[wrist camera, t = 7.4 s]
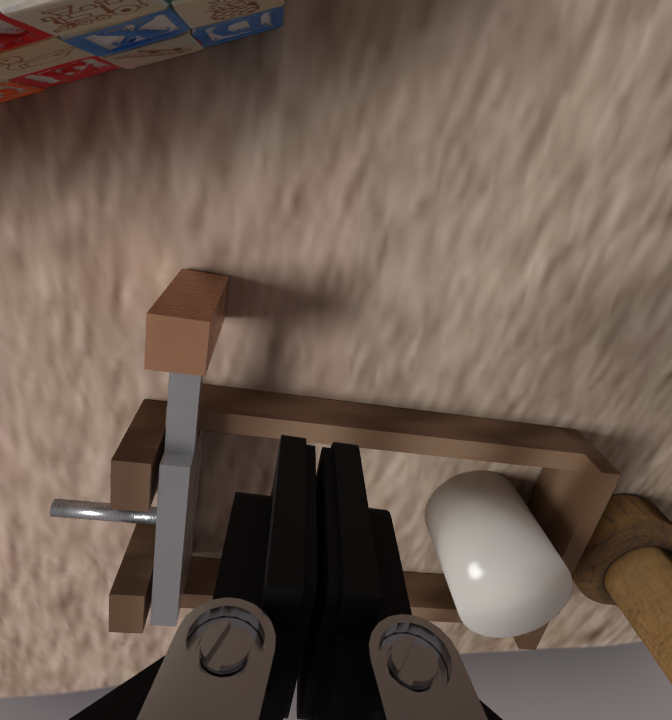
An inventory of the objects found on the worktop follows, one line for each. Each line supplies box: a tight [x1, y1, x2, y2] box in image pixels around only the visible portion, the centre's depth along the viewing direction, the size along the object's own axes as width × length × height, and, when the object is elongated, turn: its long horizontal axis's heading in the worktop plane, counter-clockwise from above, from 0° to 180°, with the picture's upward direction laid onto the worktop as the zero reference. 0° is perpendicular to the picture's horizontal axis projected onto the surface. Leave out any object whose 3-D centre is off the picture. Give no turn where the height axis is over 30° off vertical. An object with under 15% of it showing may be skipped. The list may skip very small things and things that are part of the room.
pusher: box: [50, 269, 229, 626], centre depth 22 cm, size 7×16×6 cm, turn 170°
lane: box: [109, 384, 621, 650], centre depth 25 cm, size 22×12×5 cm, turn 80°
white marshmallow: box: [425, 470, 573, 638], centre depth 26 cm, size 6×6×6 cm
